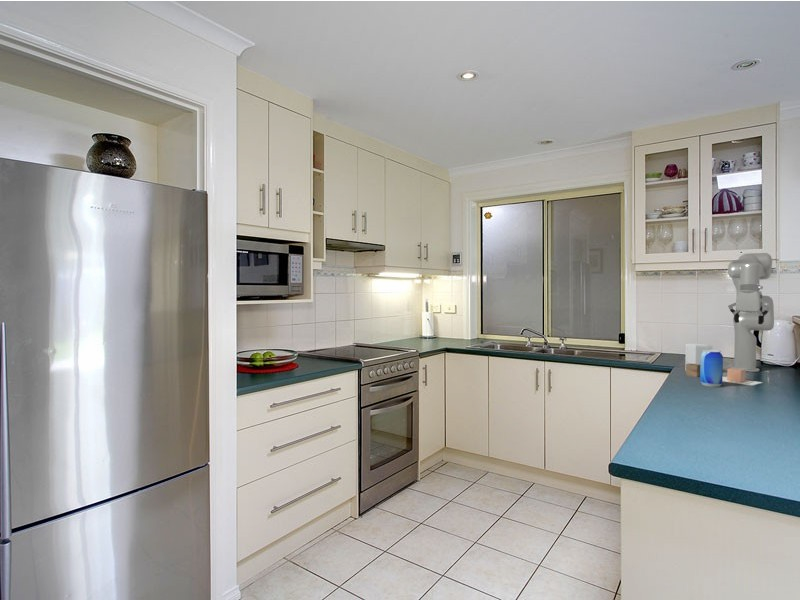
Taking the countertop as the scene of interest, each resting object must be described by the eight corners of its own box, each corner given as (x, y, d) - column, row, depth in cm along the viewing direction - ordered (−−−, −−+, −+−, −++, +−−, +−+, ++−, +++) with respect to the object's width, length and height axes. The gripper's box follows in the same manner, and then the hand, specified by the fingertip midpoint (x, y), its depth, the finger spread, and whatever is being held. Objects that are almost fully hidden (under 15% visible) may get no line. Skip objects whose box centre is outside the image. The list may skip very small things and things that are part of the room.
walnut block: (690, 375, 233) (690, 363, 233) (701, 376, 229) (701, 364, 229) (685, 376, 230) (686, 364, 230) (696, 377, 226) (696, 365, 226)
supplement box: (712, 374, 236) (713, 345, 236) (695, 373, 236) (695, 345, 236) (701, 370, 245) (702, 343, 245) (684, 370, 245) (685, 343, 245)
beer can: (715, 383, 212) (716, 349, 211) (726, 387, 203) (727, 352, 203) (696, 383, 212) (697, 349, 212) (706, 387, 204) (707, 351, 204)
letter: (722, 376, 228) (722, 376, 228) (763, 382, 214) (763, 382, 214) (710, 379, 221) (710, 379, 221) (751, 385, 207) (751, 385, 207)
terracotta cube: (731, 379, 221) (732, 367, 221) (745, 381, 217) (745, 369, 217) (727, 380, 218) (727, 369, 218) (740, 382, 214) (740, 370, 214)
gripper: (774, 288, 216) (773, 324, 216) (732, 288, 230) (731, 321, 231) (768, 288, 212) (767, 325, 212) (725, 288, 226) (724, 322, 227)
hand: (748, 323), depth 222 cm, fingers open, 9 cm apart
